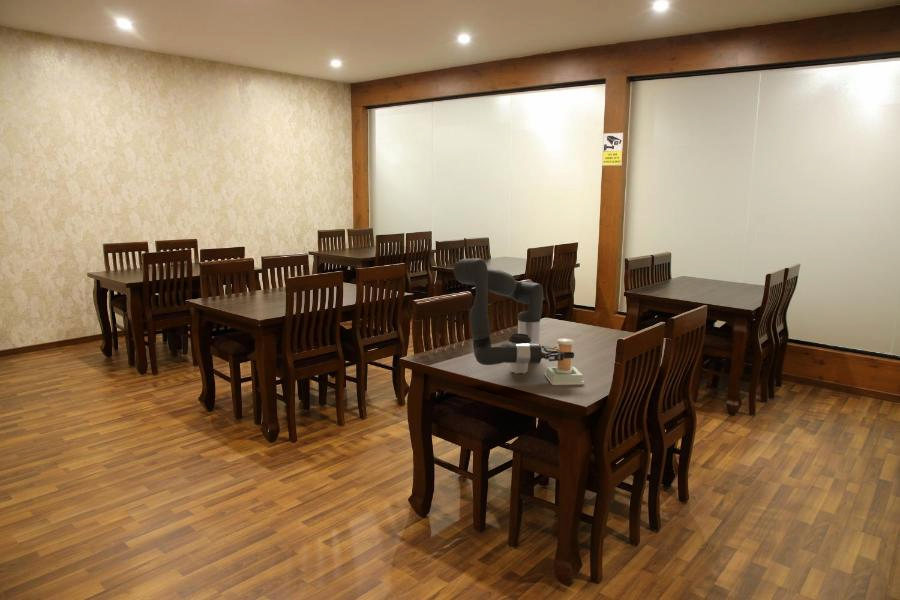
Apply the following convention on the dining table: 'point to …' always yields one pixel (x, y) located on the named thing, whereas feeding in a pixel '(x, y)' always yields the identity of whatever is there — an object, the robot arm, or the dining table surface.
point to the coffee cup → (517, 340)
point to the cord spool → (564, 365)
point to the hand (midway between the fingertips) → (571, 353)
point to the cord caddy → (564, 377)
